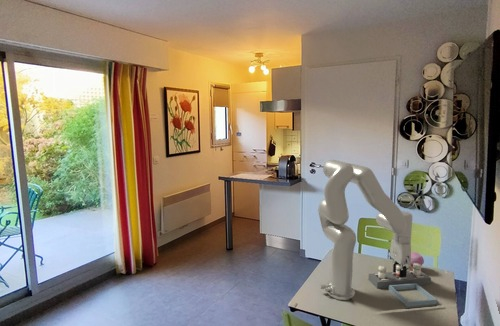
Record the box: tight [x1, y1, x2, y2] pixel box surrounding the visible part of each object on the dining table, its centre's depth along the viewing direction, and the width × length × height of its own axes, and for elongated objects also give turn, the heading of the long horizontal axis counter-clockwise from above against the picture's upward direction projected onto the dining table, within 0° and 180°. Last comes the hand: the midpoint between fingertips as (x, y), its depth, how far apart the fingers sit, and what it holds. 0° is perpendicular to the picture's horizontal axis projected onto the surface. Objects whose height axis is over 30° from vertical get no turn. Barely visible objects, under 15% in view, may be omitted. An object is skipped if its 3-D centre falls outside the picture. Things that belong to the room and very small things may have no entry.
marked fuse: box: [396, 264, 405, 278], centre depth 153 cm, size 3×3×8 cm
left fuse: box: [377, 265, 387, 280], centre depth 152 cm, size 3×3×8 cm
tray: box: [388, 283, 438, 310], centre depth 141 cm, size 14×14×3 cm
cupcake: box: [408, 251, 425, 271], centre depth 165 cm, size 9×9×10 cm
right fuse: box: [413, 263, 422, 277], centre depth 154 cm, size 3×3×8 cm
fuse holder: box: [367, 270, 432, 289], centre depth 153 cm, size 27×8×4 cm, turn 98°
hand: (399, 274), depth 153 cm, fingers open, 4 cm apart
